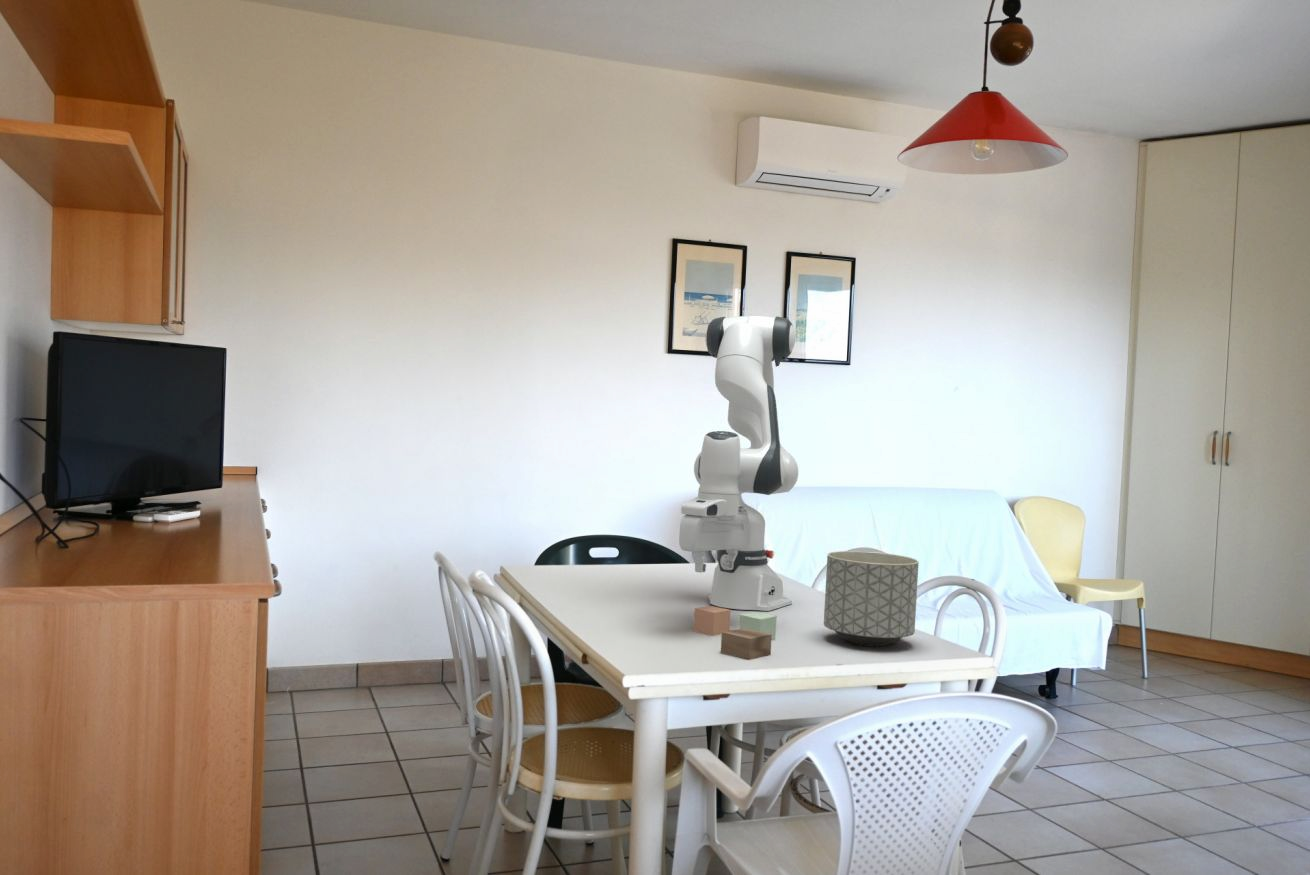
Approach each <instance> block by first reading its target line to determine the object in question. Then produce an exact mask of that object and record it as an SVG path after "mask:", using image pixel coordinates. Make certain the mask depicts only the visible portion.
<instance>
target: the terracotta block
mask: <svg viewBox="0 0 1310 875" xmlns="http://www.w3.org/2000/svg"><path fill="white" fill-rule="evenodd" d="M730 626H731V609H730V608H724V607H719V606H715V605H707V606H701V607H695V608H694V613H693V628H692V629H693V630H692V631H693V632H696V633H701V634H705V635H710V636H713V637H714V636H718V635H722V632H725V631H730Z"/></svg>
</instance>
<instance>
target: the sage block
mask: <svg viewBox="0 0 1310 875" xmlns="http://www.w3.org/2000/svg"><path fill="white" fill-rule="evenodd" d="M738 623H739V624H738V629H740V628H746V629H751V630H755V631H759V632H764V633H768V634H772V639H771V641H775V640H776V633H777V632H776V631H777V629H776V628H777V616H776V615H771V614H767V613H762V612H759V611H754V612H753V611H752V612H749V613H743V614H742V613H741V614H739V622H738Z"/></svg>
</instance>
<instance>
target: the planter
mask: <svg viewBox="0 0 1310 875" xmlns="http://www.w3.org/2000/svg"><path fill="white" fill-rule="evenodd" d="M826 558H827V559H826V573H825V574H826V575H825V576H826V578H825V594H824V596H825V597H824V608H823V609H824V610H823V612H824V613H823V626H824V627H825V628H827V629H828V630H832V631H834V632H835V633H836V634H837V635H838V636H839V637H841V638H842V639H844V640H845V641H848V642H850V643H852V644H855V645H860V646H866V647H883V646H884V647H885V646H888V645H891V644H894V643H897V642H898V641H900V640H901V639H903V638H906V637H910V636H913V635H914V634H915V632H916V630H915V629H916V617H917V616H916V615H917V614H916V612H917V597H918V595H917V594H918V581H919V580H918V579H919V562H920V561H919V560H918V559H916V558H913V557H909V556H905V555H900V554H893V553H887V552H885V553H884V552H874V551H863V550H862V551H857V550H851V551H850V550H848V551H847V550H846V551H845V550H843V551H842V550H841V551H831V552H829V553H827V556H826Z"/></svg>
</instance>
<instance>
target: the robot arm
mask: <svg viewBox="0 0 1310 875" xmlns="http://www.w3.org/2000/svg"><path fill="white" fill-rule="evenodd" d="M704 338H705V341H704V342H705V345H706V349H707V352H708V354H710V356H711V357H712V358H715V359H716V362H715V368H714V369H715V371H714V372H715V373H714V381H715V382H714V384H715V387H716V389H717V391H718V392H719V394H721V396H722V397H724V398H725V400H726V401H727V400H728V412H727V423H728V425H729V426H730V428H731V429H732V430H733V431H734V432H731V431H726V430H717V431H709V432H708V433H706V434H705V435H704V438H703V441H702V446H701V451H700V453H698V455H697V456H696V459H695V462H694V464H693V472H694V478H695V480H696V481H697V483H698V484H699V487H698V490H697V492H698V493H697V496H696V497H694V498H693V499H691V500H688V501H687V502H685V503H683V504H682V505H681V507H680V509H681V510H680V511H681V512H680V513H681V514H682V515H683V516H682V518H681V519H680V524H679V533H678V534H679V535H678V536H679V539H678V543H679V548H680V549H681V551H684V552H691V558H692V560H693V562H694V572H696V573H701V574H702V573H705V572H706V568H707V564H706V563H704V560H703V557H704V555H705V554H704V553H705V552H709V551H711V552H712V551H716V561H717V565H716V567H714V571H713V578H712V584H711V592H710V594H708V597H707V599H708V600H709V604H711V605H712V606H715V607H719V608H724V609H730V610H731V609H733V610H741V611H742V610H745V611H747V610H750V611H761V612H768V611H769V612H770V611H773V610H776V609H779V608H782V607H785V606H788V605H791V604H793V600H792V599H791V598H788V597H786V596H784V585H783V584H784V583H783V580H782V578H781V577H780V576H779V575H778V574H777V573H776V572H775V571H774V570H773V569H772V568H771V567H770V566H769V565H768V563H769V561H768V559H774V556H775V552H774V550H769V549H765V534H766V532H765V531H766V520H765V518H764V516H763V514H762V513H761V512H760V511H759V510H757V509H756V508H754V507H752V506H751V505H748V504H747V503H745V501H744V500H743V497H742V494H744V493H748V494H759V495H767V496H770V495H774V494H775V495H776V494H783V493H789V492H790V491H791V490H793V488H794V487H795V485H796V483H797V481H798V478H799V467H798V463H797V461H796V459H795V458H794V457H793V455H792V454H791V453H790V452H788V451H787V450H786V449H785V448H784V447H783V446H782V444H781V441H780V429H779V428H780V427H779V420H778V418H779V417H778V416H779V415H778V409H777V399H776V395H775V390H774V389H775V384H774V383H775V381H774V379H775V378H774V368H773V362H774V364H775V368H776V367H779V366H780V364H781V363H782V362H784V361H786V360H787V359H788V358H789V357H790V356H791V355H792V352H793V349H794V347H795V343H796V332H795V330H794V326H793V322H792V321H790V319H789V318H786V317H782V316H776V317H773V316H766V315H745V316H743V315H740V316H730V317H726V316H720V317H715V318H713V319H712V320H711V321H710V322H709V323H708V325H707V329H706V332H705V337H704ZM735 432H736V433H735ZM740 436H742V437H744V438H746V439H747V440H748V441H749V442H750V447H747V448H745V447H744V448H742V447H741V442H740V441H741V439H740Z"/></svg>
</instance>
